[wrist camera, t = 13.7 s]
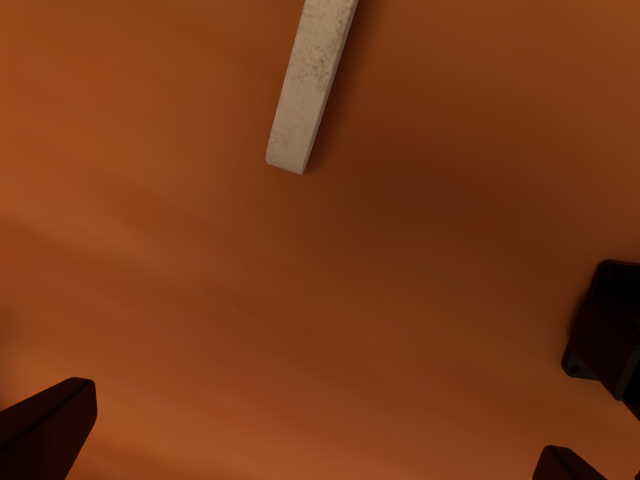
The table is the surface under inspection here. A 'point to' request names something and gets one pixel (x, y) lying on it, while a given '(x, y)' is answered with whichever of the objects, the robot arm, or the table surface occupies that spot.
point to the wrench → (308, 81)
